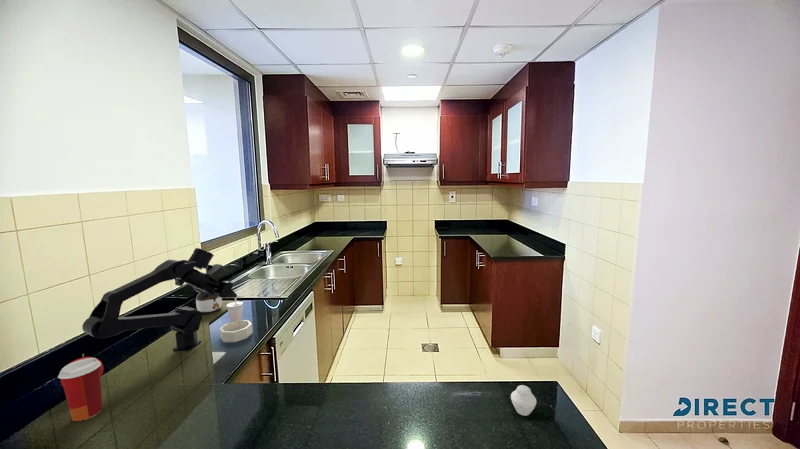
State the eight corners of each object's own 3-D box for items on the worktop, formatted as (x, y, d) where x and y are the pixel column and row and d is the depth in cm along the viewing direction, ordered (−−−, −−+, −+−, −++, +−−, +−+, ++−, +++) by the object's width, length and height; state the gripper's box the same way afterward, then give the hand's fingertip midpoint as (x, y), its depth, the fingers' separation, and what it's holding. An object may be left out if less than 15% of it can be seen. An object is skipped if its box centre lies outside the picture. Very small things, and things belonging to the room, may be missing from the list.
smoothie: (238, 329, 130) (235, 297, 128) (224, 328, 131) (221, 296, 129) (248, 323, 136) (245, 291, 134) (235, 321, 137) (232, 291, 135)
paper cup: (104, 400, 88) (97, 353, 86) (110, 412, 83) (102, 363, 81) (64, 416, 82) (55, 366, 80) (67, 430, 77) (58, 378, 75)
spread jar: (201, 316, 143) (199, 292, 142) (192, 310, 150) (189, 287, 149) (228, 308, 153) (226, 285, 151) (218, 303, 160) (216, 281, 158)
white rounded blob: (534, 423, 77) (535, 397, 76) (508, 415, 80) (509, 389, 79) (537, 407, 82) (538, 383, 81) (512, 400, 85) (513, 376, 84)
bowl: (242, 342, 119) (241, 332, 119) (215, 342, 120) (214, 332, 119) (256, 329, 130) (255, 320, 129) (231, 329, 130) (230, 320, 130)
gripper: (224, 262, 119) (254, 279, 131) (195, 258, 127) (225, 274, 139) (207, 290, 114) (240, 305, 125) (178, 283, 122) (211, 298, 134)
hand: (229, 294), depth 131 cm, fingers open, 9 cm apart
